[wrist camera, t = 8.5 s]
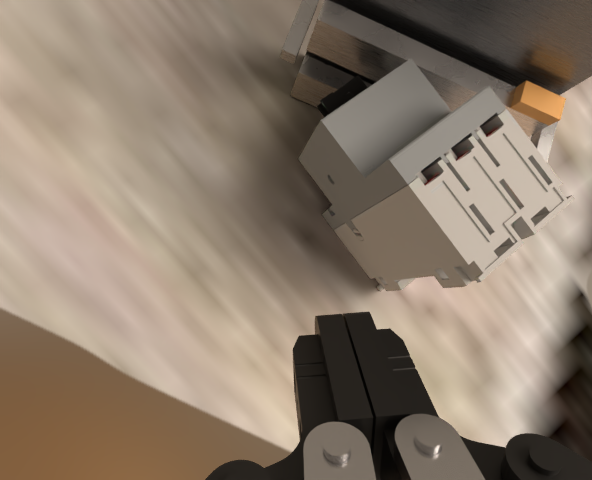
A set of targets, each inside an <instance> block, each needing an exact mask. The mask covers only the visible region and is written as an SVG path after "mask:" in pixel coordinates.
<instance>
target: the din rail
mask: <svg viewBox="0 0 592 480" xmlns="http://www.w3.org/2000/svg"><path fill="white" fill-rule="evenodd" d="M306 50H307V51H309V52H311V53H314V54H316V55H318V56H320V57H322V58H325V59H327V60H329V61H331V62H334V63H336V64H338V65H340V66H342V67H345V68H347V69H349V70H351V71H354V72H356V73H358V74H360V75H363V76H365V77H367V78H369V79H371V80H374V81H376V82H377V81H379V80H380V79H381V78H383V77H384V76H386V75H387V74H389V73H390V72H392V71H393V70H395V69H396V68H398V67H399V66H400V65H402V64H403V63H405V62H406V61H408V60H409V59H412V60H413V61H414V63H415V64H416V65H417V67H418V68H419V69H420V71H421V72H422V73H423V74H424V76H425V77H426V78H427V80H428V81H429V82H430V84H431V85H432V86H433V87H434V89H435V90H436V91H437V93H438V94H439V95H440V97H441V98H442V99H443V101H444V102H445V103H446V104H447V106H448V107H449V108H450V110H451V111H454V110H455V109H456V108H458V107H459V106H460V105H462V104H463V103H465V102H466V101H467V100H469V99H470V98H471V97H473V96H474V95H475V94H477V93H478V92H479V91H481V90H482V89H483V88H485V87H486V86H490V87H491V89H492V90H493V91H494V93H495V94H496V95H497V97H498V98H499V99H500V101H501V102H502V103H503V105H504V106H505V107H506V109H507V110H508V111H509V113H510V114H511V115H512V117H513V118H514V119H515V120H516V122H517V123H518V124H519V126H520V127H521V128H522V130H523V131H524V132H525V134H526V135H527V136H528V137H529V136H530V135H532V134H534V133H536V132H538V131H540V130H542V129H544V128H546V127H548V126H549V125H551V124H553V123H555V122H557V121H559V120H560V119H561V115H562V111H563V107H564V104H565V100H566V99H565V98H563V97H561V96H559V95H557V94H555V93H553V92H551V91H548V90H546V89H544V88H542V87H540V86H538V85H536V84H533V83H531V82H529V81H527V80H526V81H525V82H523V83H522V84H520V85H519V86H518V87H514V86H512V85H510V84H508V83H506V82H503V81H501V80H499V79H497V78H495V77H493V76H491V75H488V74H486V73H484V72H482V71H480V70H478V69H476V68H473V67H471V66H469V65H467V64H465V63H463V62H461V61H458V60H456V59H454V58H452V57H450V56H448V55H446V54H443V53H441V52H439V51H437V50H435V49H433V48H431V47H428V46H426V45H424V44H422V43H420V42H418V41H416V40H413V39H411V38H409V37H407V36H405V35H403V34H401V33H399V32H396V31H394V30H392V29H390V28H388V27H386V26H384V25H381V24H379V23H377V22H375V21H373V20H371V19H369V18H366V17H364V16H362V15H360V14H358V13H356V12H354V11H351V10H349V9H347V8H345V7H343V6H341V5H339V4H336V3H334V2H332V1H330V0H325V1H324V3H323V6H322V8H321V11H320V13H319V16H318V18H317V21H316V24H315V27H314V30H313V32H312V35H311V38H310V41H309V44H308V47H307V49H306ZM353 78H354V76H352V75H350V74H347V73H345V72H343V71H341V70H338V69H336V68H334V67H332V66H330V65H327V64H325V63H323V62H321V61H318V60H316V59H314V58H312V57H309V56H307V55H305V57H304V60H303V62H302V65H301V67H300V70H299V72H298V75H297V78H296V81H295V83H294V86H293V89H292V92H291V95H290V96H292V97H295V98H297V99H299V100H301V101H304V102H306V103H308V104H311V105H313V106H315V107H317V106H318V105H319V104H320V103H321V102H320V100H321V99H323V98H324V97H326V96H327V95H329V94H330V93H332V92H333V93H334V92H335V91H337V90H338V89H339V88H341V87H342V86H343V85H345V84H346V83H348V82H349V81H350V80H352V79H353ZM362 81H363V80H362ZM363 82H364V83H365V85H366V86H367V87H369V86H371V85H372V84H370V83H367V82H365V81H363ZM506 109H505V110H506Z"/></svg>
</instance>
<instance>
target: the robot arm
mask: <svg viewBox="0 0 592 480" xmlns="http://www.w3.org/2000/svg"><path fill="white" fill-rule="evenodd" d="M293 368H294V392H295V401H296V410H297V418H298V427H299V436H300V442H299V444H298V446H297V447H296V448H295V450H294V451H293V452H292V453H291V454H290V455H289V456H288V457H286V458H285V459H283V460H281V461H279V462H277V463H275V464H273V465H270V466H268V467H266V468H263V467H261V466H260V465H259V464H256V463H254V462H251V461H248V460H235V461H230V462H228V463H225V464H223V465H221V466H219V467H218V468H217V469H216V470H214V471H213V472H212V473H211V474H210V475H209V476H208V477H207V478H206V480H592V462H591V461H589V460H587V459H586V458H584V457H582V456H580V455H579V454H577V453H575V452H573V451H572V450H570V449H568V448H566V447H565V446H563V445H561V444H560V443H558V442H556V441H554V440H552V439H550V438H547V437H545V436H542V435H538V434H529V433H525V434H520V435H517V436H515V437H513V438H512V439H511V440H510V441H509V442H508V444H507V446H506V448H505V447H500V446H495V445H489V444H484V443H479V442H475V441H471V440H468V439H466V438H463V437H461V436H459V434H458V433H457V431H456V430H455V429H454V428H453V427H452V426H451V425H450V424H449V423H447V422H446V421H444V420H443V419H441V418H439V416H438V414H437V412H436V410H435V408H434V406H433V404H432V402H431V399H430V397H429V395H428V393H427V391H426V389H425V387H424V384H423V382H422V380H421V378H420V376H419V374H418V371H417V370H416V369H415V365H414V363H413V361H412V359H411V358H410V354H409V352H408V350H407V348H406V346H405V344H404V341H403V340H402V339H401V338H400V337H399V336H398V335H396V334H395V333H394V332H393V331H392V330H391V329H379V330H377V329H376V326H375V324H374V321H373V319H372V316H371V314H370V312H359V313H346V314H343V315H342V314H334V315H321V316H315V335H304V336H299V337H298V339H297V341H296V343H295V346H294V348H293Z"/></svg>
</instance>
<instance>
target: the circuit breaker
mask: <svg viewBox="0 0 592 480" xmlns="http://www.w3.org/2000/svg"><path fill="white" fill-rule="evenodd" d="M320 102H321V103H320V104H319V105H318V106H317V107H318V109H319V110H320V111H321V113H322V114H323V116H324V118H323V119H321V120H320V122H319V124H318V125H317V126H316V128H315V130H314V132H313V134H312V135H311V137H310V139H309V141H308V142H307V144H306V146H305V148H304V150H303V151H302V153H301V155H300V157H299V158H298V159H299V161H300V162H301V163H302V165H303V166H304V167H305V169H306V170H307V171H308V173H309V174H310V176H311V177H312V178H313V180H314V181H315V182H316V184H317V185H318V186H319V188H320V189H321V190H322V192H323V193H324V194H325V196H326V197H327V198H328V200H329V201H330V202H331V204H332V206H331V207H330V208H329V209H327V210H326V211H325V212H324V213H323V214H322V216H323V217H324V218H325V220H326V221H327V222H328V224H329V225H330V226H331V228H332V229H333V230H334V232H335V233H336V234H337V236H338V237H339V238H340V240H341V241H342V242H343V244H344V245H345V246H346V248H347V249H348V250H349V252H350V253H351V254H352V256H353V257H354V258H355V260H356V261H357V262H358V263H359V265H360V266H361V267H362V269H363V270H364V271H365V273H366V274H367V275H368V277H369V278H370V279H372V278H375V279H376V280H377V282H378V283H379V284H380V285H378V286H377V289H378V290H379V291H382V290H383V289H385V290H386V291H395V290H402V289H404V288H405V287H406V286H407V285H408V284H409V283H411V282H412V281H413V280H414V279H415V278H419V277H428V276H435V278H436V279H437V280H438V282H439V283H440V284H441V286H442V287H443V288H451V287H464V286H467V285H468V284H469V283H470V282H472V281H475V280H476V281H477V283H478V282H481V281H482V280H484V279H485V278H486V277H487V276H488V275H489V274H490V273H492V272H493V271H494V270H495V269H496V268H497V267H498V266H499V265H501V264H502V263H503V262H504V261H505V260H506V259H507V258H508V257H510V256H511V255H512V254H513V253H514V252H515V251H516V250H518V249H519V248H520V247H521V246H522V245H523V244H524V242H523V241H522V239H524V238H527V237H529V236H532V235H534V234H536V233H537V232H538V231H539V230H540V229H541V228H542V227H544V226H545V225H546V224H547V223H548V222H549V221H550V220H552V219H553V218H554V217H555V216H556V215H557V214H558V213H559V212H561V211H562V210H563V209H564V208H565V207H566V206H567V205H568V204H570V203H571V202H572V201H573V200H574V197H573V196H569V197H567V198H566V197H565V195H564V194H563V193H562V191H561V190H560V189H559V187H560V186H561V185H562V184H563V183H562V181H561V180H560V179H559V177H558V176H557V175H556V173H555V172H554V171H553V169H552V168H551V167H550V166H549V164H548V163H547V162H546V160H545V159H544V158H543V156H542V155H541V154H540V152H539V151H538V150H537V148H536V147H535V146H534V144H533V143H532V142H531V140H530V139H529V138H528V136H527V135H526V134H525V132H524V131H523V130H522V128H521V127H520V126H519V124H518V123H517V122H516V120H515V119H514V118H513V117H512V115H511V114H510V113H509V111H508V110H507V109H506V107H505V106H504V105H503V103H502V102H501V101H500V99H499V98H498V97H497V95H496V94H495V93H494V91H493V90H492V89H491V87H490V86H486V87H485V88H483V89H482V90H481V91H479V92H478V93H477V94H475V95H474V96H473V97H471V98H470V99H469V100H467V101H466V102H465V103H463V104H462V105H460V106H459V107H458V108H456V109H455V110H454V111H451V110H450V108H449V107H448V106H447V104H446V103H445V102H444V101H443V99H442V98H441V97H440V95H439V94H438V93H437V91H436V90H435V89H434V87H433V86H432V85H431V84H430V82H429V81H428V80H427V78H426V77H425V76H424V74H423V73H422V72H421V71H420V69H419V68H418V67H417V65H416V64H415V63H414V61H413V60H412V59H409V60H408V61H406V62H405V63H403V64H402V65H400V66H399V67H398V68H396V69H395V70H393V71H392V72H390V73H389V74H387V75H386V76H384V77H383V78H381V79H380V80H379V81H377V82H376V83H374V84H373V85H371V86H369V87H367V86H366V85H365V83H364V82H363V81H362V79H361V78H360V77H359V75H357V76H356V77H354V78H353V79H352V80H350V81H349V82H348V83H346V84H345V85H343V86H342V87H341V88H339V89H338V90H337V91H335V92H334V93H333V92H332V93H330V94H329V95H327V96H326V97H324V98H323V99H321V100H320ZM505 109H506V110H505Z"/></svg>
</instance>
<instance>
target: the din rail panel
mask: <svg viewBox="0 0 592 480" xmlns="http://www.w3.org/2000/svg"><path fill="white" fill-rule="evenodd" d="M318 1H319V0H302V2H301V5H300V7H299V9H298V12H297V14H296V17H295V19H294V22H293V24H292V26H291V29H290V31H289V34H288V36H287V38H286V41H285V43H284V46H283V48H282V51H281V55H280V58H281V59H283V60H286V61H288V62H290V63H292V64H294V62H295V60H296V57H297V55H298V52H299V50H300V47H301V45H302V42H303V40H304V37H305V35H306V32H307V30H308V27H309V25H310V22H311V20H312V17H313V15H314V12H315V10H316V7H317V4H318ZM330 1H332V2H334V3H336V4H339V5H341V6H343V7H345V8H347V9H349V10H351V11H354V12H356V13H358V14H360V15H362V16H364V17H366V18H369V19H371V20H373V21H375V22H377V23H379V24H381V25H384V26H386V27H388V28H390V29H392V30H394V31H396V32H399V33H401V34H403V35H405V36H407V37H409V38H411V39H413V40H416V41H418V42H420V43H422V44H424V45H426V46H428V47H431V48H433V49H435V50H437V51H439V52H441V53H443V54H446V55H448V56H450V57H452V58H454V59H456V60H458V61H461V62H463V63H465V64H467V65H469V66H471V67H473V68H476V69H478V70H480V71H482V72H484V73H486V74H488V75H491V76H493V77H495V78H497V79H499V80H501V81H503V82H506V83H508V84H510V85H512V86H514V87H518V86H519V85H520V84H522V83H523V82H525V81H526V80H527V81H529V82H531V83H533V84H536V85H538V86H540V87H542V88H544V89H546V90H548V91H551V92H553V93H555V94H557V95H560V94H562V93H564V92H565V91H567V90H569V89H570V88H572V87H574V86H575V85H577V84H579V83H580V82H582V81H584V80H585V79H587V78H589V77H590V76H592V0H330ZM306 55H307V56H309V57H312V58H314V59H316V60H318V61H321V62H323V63H325V64H327V65H330V66H332V67H334V68H336V69H338V70H341V71H343V72H345V73H347V74H350V75H352V76H354V77H356V76H357V75H359V77H360V78H361V79H362V80H363V81H365V82H367V83H370V84H372V85H373V84H374V83H376V81H374V80H371V79H369V78H367V77H365V76H363V75H360V74H358V73H356V72H354V71H351V70H349V69H347V68H345V67H342V66H340V65H338V64H336V63H334V62H331V61H329V60H327V59H325V58H322V57H320V56H318V55H316V54H314V53H311V52H309V51H307V53H306ZM557 123H558V121H557V122H555V123H553V124H551V125H549V126H548V127H546V128H544V129H542V130H540V131H538V132H536V133H534V134H532V137H531V142H532V143H533V144H534V146H535V147H536V148H537V150H538V151H539V152H540V154H541V155H542V156H543V158H544V159H545V160H546V162H547V161H548V157H549V153H550V150H551V146H552V142H553V138H554V134H555V130H556V127H557Z"/></svg>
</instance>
